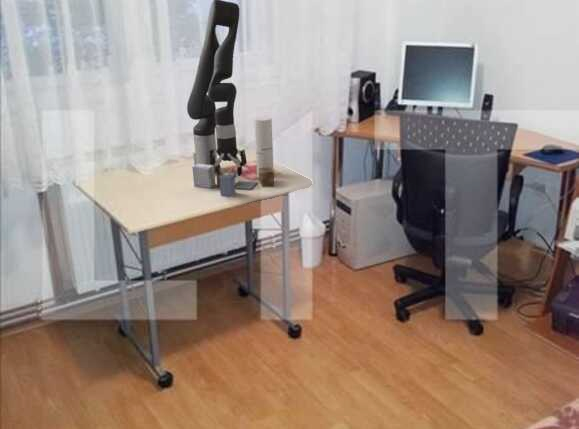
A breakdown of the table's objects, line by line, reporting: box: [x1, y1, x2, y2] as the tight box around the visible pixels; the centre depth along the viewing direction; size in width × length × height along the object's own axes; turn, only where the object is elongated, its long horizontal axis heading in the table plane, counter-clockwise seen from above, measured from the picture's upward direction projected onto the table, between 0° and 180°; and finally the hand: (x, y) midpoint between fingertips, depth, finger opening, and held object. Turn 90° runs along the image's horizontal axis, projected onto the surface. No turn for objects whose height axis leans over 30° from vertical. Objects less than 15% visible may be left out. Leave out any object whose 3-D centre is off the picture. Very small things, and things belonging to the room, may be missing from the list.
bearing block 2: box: [258, 167, 275, 188], centre depth 264 cm, size 6×6×6 cm
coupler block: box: [219, 173, 236, 198], centre depth 254 cm, size 4×4×8 cm
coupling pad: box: [235, 180, 258, 191], centre depth 264 cm, size 8×8×1 cm
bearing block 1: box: [215, 167, 237, 188], centre depth 264 cm, size 7×6×6 cm
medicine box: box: [191, 164, 217, 189], centre depth 264 cm, size 8×4×9 cm, turn 65°
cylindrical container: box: [253, 115, 275, 178], centre depth 270 cm, size 7×7×25 cm
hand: (229, 175), depth 253 cm, fingers open, 8 cm apart
